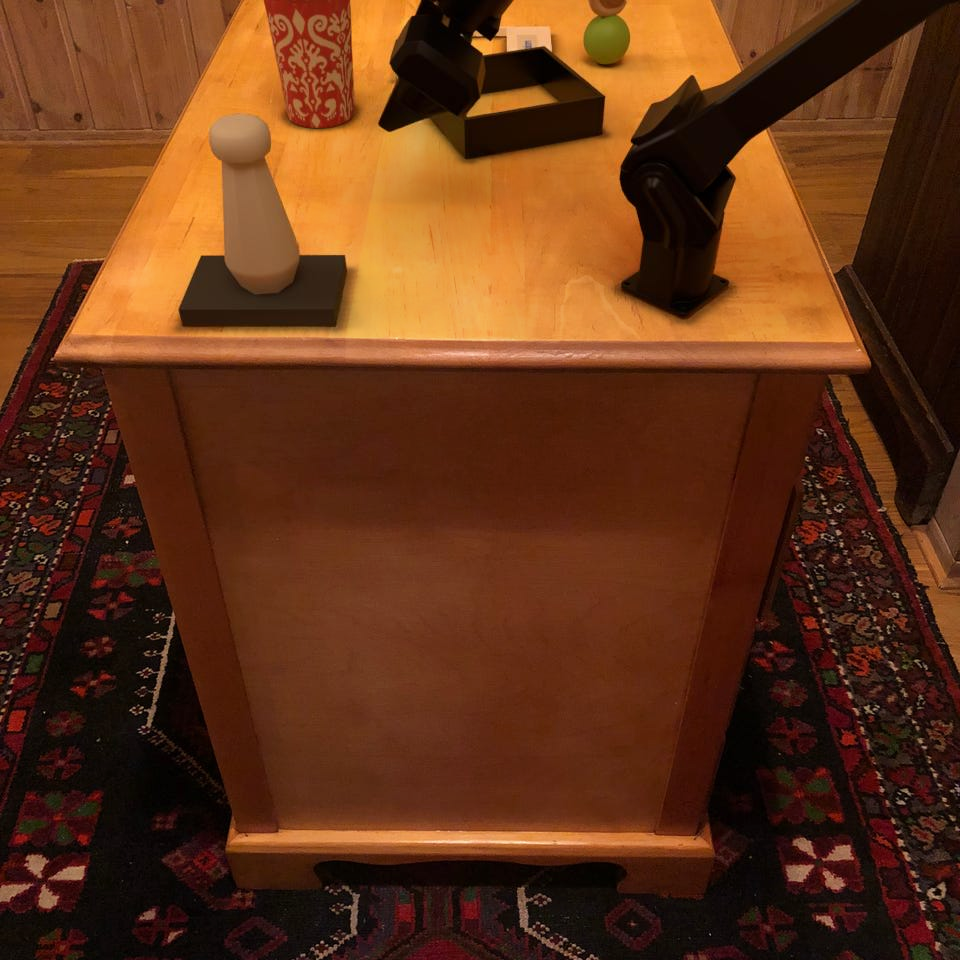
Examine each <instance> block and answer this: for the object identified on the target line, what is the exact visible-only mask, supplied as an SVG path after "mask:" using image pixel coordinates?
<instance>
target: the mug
mask: <svg viewBox="0 0 960 960" xmlns="http://www.w3.org/2000/svg"><path fill="white" fill-rule="evenodd" d="M263 3H264V8H265V13H266V18H267V19H266V20H267V23H268V28H269V32H270V33H269V34H270V37H271V41H272V46H273V51H274V57H275V61H276V66H277V72H278V77H279V81H280V86H281V91H282V95H283V100H284V105H285V111H286V114H287V118H288V120H289V121H291V123H293V124H295V125H297V126H300V127H303V128H309V129H326V128H333V127H337V126H340V125H343V124H345V123H346V122H348V121H350V120H351V119H352V118H353V117H354V116H355V112H356V104H355V102H356V101H355V88H354V87H355V86H354V85H355V83H354V59H353V57H354V56H353V36H352V35H353V34H352V33H353V31H352V30H353V29H352V10H351V9H352V8H351V6H352V5H351V0H263Z"/></svg>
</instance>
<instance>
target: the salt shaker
mask: <svg viewBox="0 0 960 960" xmlns="http://www.w3.org/2000/svg"><path fill="white" fill-rule="evenodd" d="M271 136H272V135H271V130H270V128H269V125H268V123H266V121H264V119H262V118H261V117H259V116H258V115H254V114H251V113H235V114H234V113H233V114H228V115H224V116H222V117H219V118H217V119H216V120H215V121H214V122H213V123H212V124H211V125H210V127H209V131H208V144H209V147H210V151H211V153H212V154H213V156H214V157H215V158H216V159H217V160H218V161H221V182H222V183H221V184H222V185H221V187H222V217H223V218H222V219H223V250H224V251H223V252H224V253H223V255H224V256H225V263H226V266H227V268H228V269H229V270H230V272H231V273H232V274H233V276H234V277H235V278H236V280H237V281H238V283H239V284H240V285H241V286H242V287H243V288H245V289H247V290H248V291H250V292H251V293H253V294H255V295H257V294H270V293H279V292H280V291H281V290H283V289H284V288H285V287H287V286H288V285H289V284H291V283H292V282H293V280H294V277H295V273H296V270H297V267H298V264H299V255H300V246H299V242H298V240H297V237H296V235H295V233H294V230H293V226H292V224H291V222H290V220H289V217H288V214H287V212H286V209H285V206H284V204H283V201H282V199H281V196H280V193H279V190H278V188H277V185H276V183H275V181H274V178H273V175H272V173H271V170H270V168H269V165H268V162H267V160H266V156H267V155H269V153H271V148H272V137H271Z"/></svg>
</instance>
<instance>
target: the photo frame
mask: <svg viewBox="0 0 960 960" xmlns="http://www.w3.org/2000/svg"><path fill="white" fill-rule="evenodd" d="M473 37H483V36H482V35H481V34H480V33H478V32H477V31H475V32H474V34H473ZM494 37H506V52H508V51H515V50H521V49H528V48H535V47H541V46H545V47H546V48H547V49H549V50H550V51H551V52H552V53H553V48H552V38H551V37H552V36H551V28H550V26H500V27H499V31H498V33H497V34H496V35H495V36H494ZM397 79H398V76H397V75H396V80H397Z"/></svg>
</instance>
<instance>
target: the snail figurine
mask: <svg viewBox="0 0 960 960" xmlns="http://www.w3.org/2000/svg"><path fill="white" fill-rule="evenodd" d="M587 1H588V4H589V7H590V9H591V11H592V13H594V15H596V16H595V17H593V18H592V19H591V20H590V21H589V22H588V23H587V26H586V27H585V29H584V31H583V39H582V40H583V41H582V42H583V48H584V51H585V53H586V56H587V57H588V58H589V59H590V60H592V61H593V62H595V63H596V64H599V65H611V64H614V63H616V62H618V61H619V60H621V59H622V58H623V57H624V56H625V55H626V53H627V52H628V49H629V47H630V43H631V32H630V29H629V26H628V24H627V22H626V21H625V20H624V19H623V18H622V17H621V16H620V15H619V14H620V13H621V12H622V11H623V10H624V9H625V7H626V6H627V3H628V1H627V0H587Z"/></svg>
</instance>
